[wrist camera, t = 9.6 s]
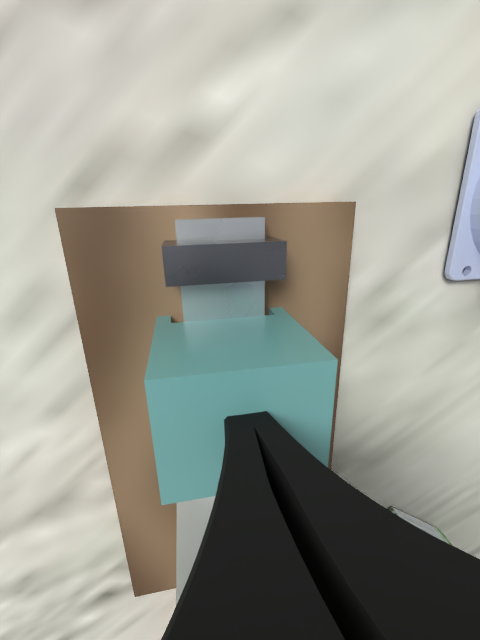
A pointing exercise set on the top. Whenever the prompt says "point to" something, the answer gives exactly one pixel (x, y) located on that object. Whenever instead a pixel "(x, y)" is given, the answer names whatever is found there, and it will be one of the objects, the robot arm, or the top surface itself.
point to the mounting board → (158, 300)
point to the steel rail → (223, 266)
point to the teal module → (232, 392)
